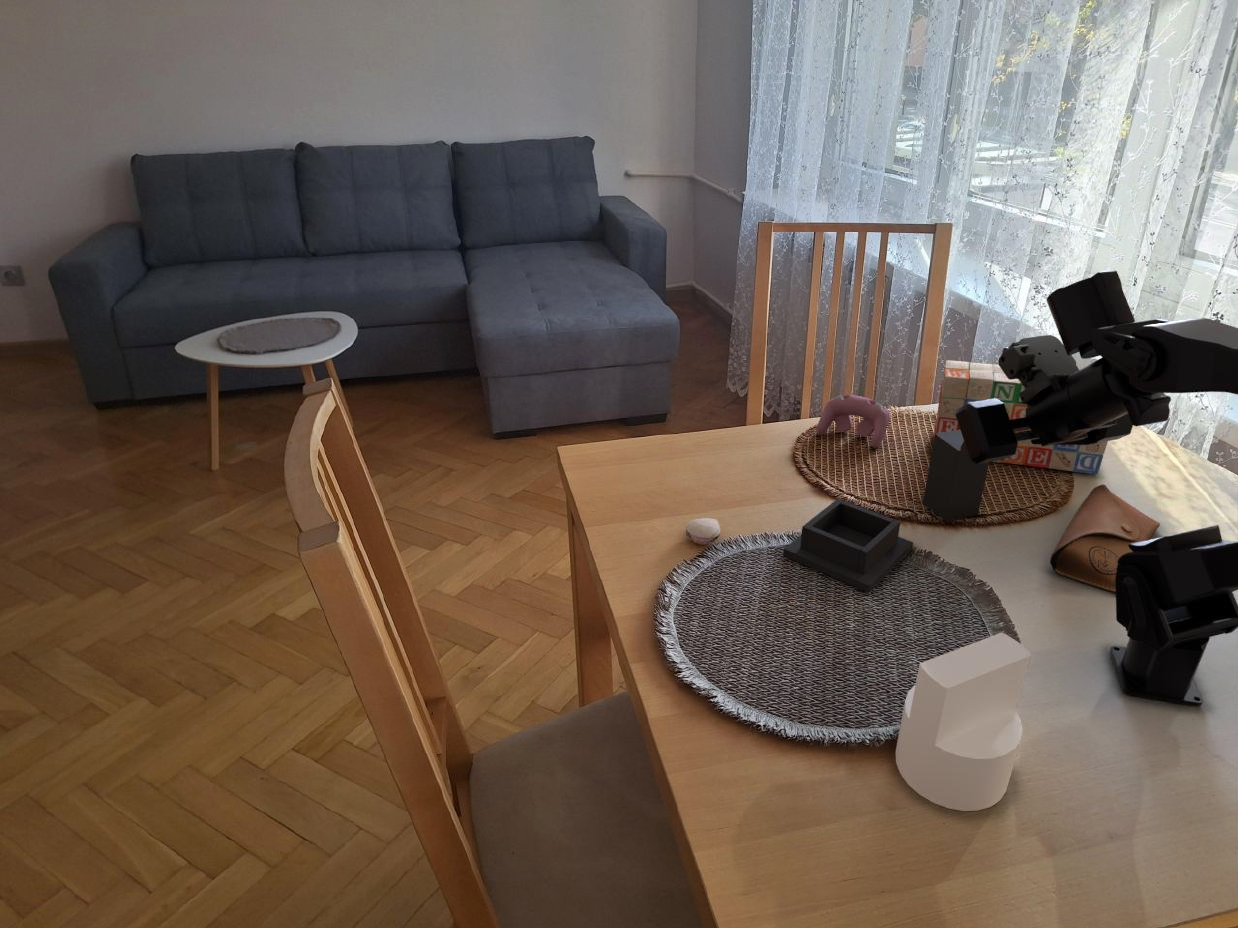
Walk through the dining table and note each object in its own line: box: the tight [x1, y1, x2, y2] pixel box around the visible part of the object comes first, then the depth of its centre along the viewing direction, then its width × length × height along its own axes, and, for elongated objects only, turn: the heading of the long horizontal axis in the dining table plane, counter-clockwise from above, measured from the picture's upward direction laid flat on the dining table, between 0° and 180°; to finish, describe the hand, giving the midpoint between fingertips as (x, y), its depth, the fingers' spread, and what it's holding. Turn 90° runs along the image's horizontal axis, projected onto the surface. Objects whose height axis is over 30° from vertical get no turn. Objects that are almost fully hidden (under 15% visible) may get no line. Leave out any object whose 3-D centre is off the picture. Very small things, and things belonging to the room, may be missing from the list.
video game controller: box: [816, 394, 891, 449], centre depth 123 cm, size 10×5×7 cm, turn 58°
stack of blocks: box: [932, 359, 1109, 475], centre depth 115 cm, size 21×6×12 cm, turn 70°
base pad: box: [782, 498, 914, 593], centre depth 97 cm, size 11×11×4 cm
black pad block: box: [922, 430, 990, 522], centre depth 104 cm, size 5×5×10 cm
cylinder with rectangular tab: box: [895, 632, 1032, 812], centre depth 68 cm, size 9×9×12 cm
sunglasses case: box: [1049, 484, 1161, 593], centre depth 97 cm, size 18×7×7 cm, turn 141°
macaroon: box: [684, 517, 721, 546], centre depth 101 cm, size 4×5×2 cm
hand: (997, 445), depth 95 cm, fingers open, 9 cm apart
